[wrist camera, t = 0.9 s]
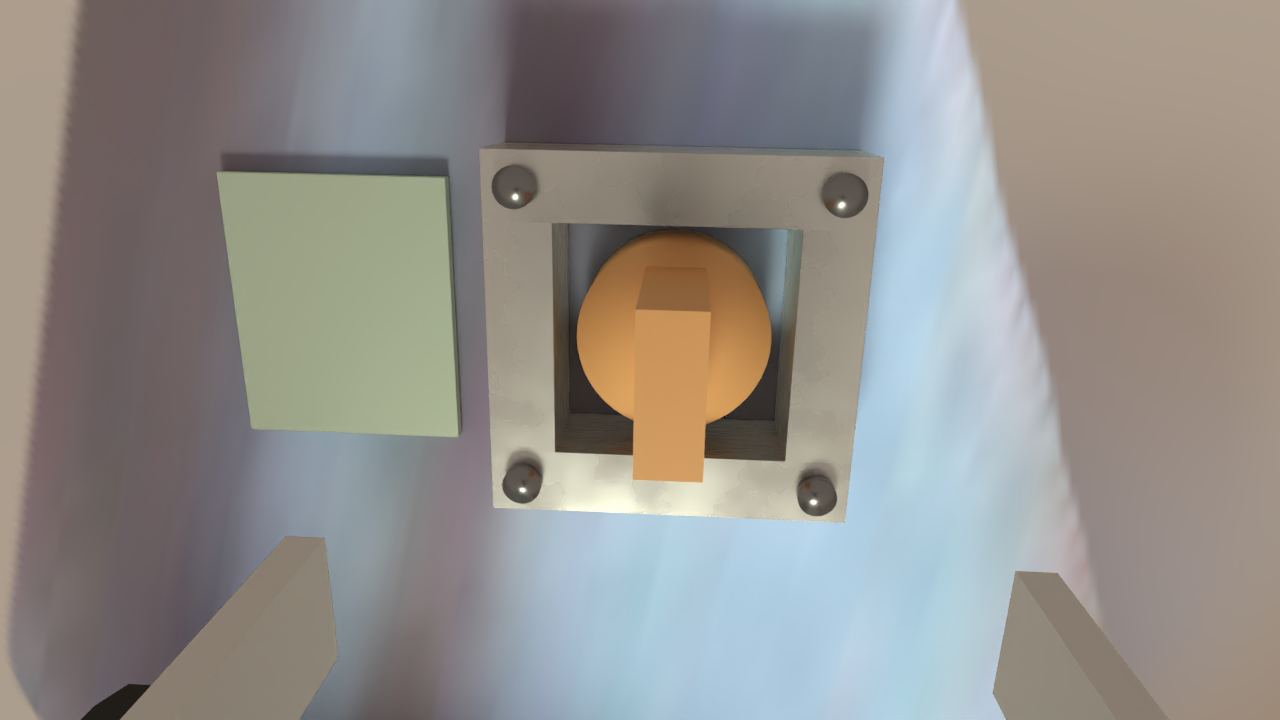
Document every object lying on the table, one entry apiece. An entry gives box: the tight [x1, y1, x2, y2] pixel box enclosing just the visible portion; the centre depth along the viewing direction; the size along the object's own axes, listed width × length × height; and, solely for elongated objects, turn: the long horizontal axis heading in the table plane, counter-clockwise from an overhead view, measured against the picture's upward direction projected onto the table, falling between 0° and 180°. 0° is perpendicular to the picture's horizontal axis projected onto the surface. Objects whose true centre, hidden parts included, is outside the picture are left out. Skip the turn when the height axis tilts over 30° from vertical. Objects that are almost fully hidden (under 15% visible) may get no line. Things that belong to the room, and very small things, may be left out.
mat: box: [217, 171, 462, 437], centre depth 37 cm, size 12×10×1 cm
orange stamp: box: [577, 229, 771, 483], centre depth 32 cm, size 8×8×10 cm
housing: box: [479, 142, 884, 522], centre depth 35 cm, size 15×15×5 cm
